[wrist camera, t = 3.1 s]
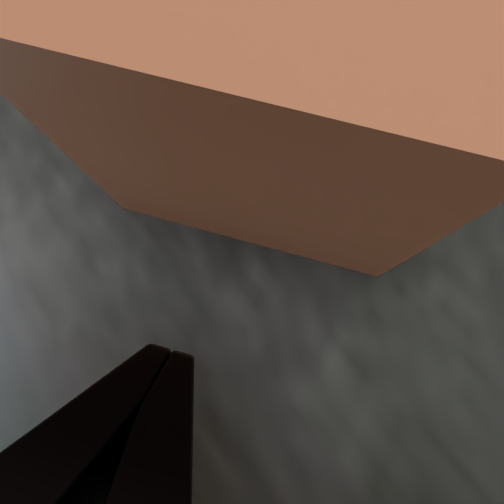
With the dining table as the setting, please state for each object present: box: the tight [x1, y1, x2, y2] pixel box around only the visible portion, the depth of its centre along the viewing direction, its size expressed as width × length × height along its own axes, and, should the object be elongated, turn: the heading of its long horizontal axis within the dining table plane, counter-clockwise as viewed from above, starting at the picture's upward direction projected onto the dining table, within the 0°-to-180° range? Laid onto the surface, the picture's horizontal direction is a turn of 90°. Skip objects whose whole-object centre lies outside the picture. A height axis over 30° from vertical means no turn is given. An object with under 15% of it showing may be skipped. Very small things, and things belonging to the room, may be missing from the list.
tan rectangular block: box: [0, 0, 504, 277], centre depth 12 cm, size 4×9×10 cm, turn 74°
